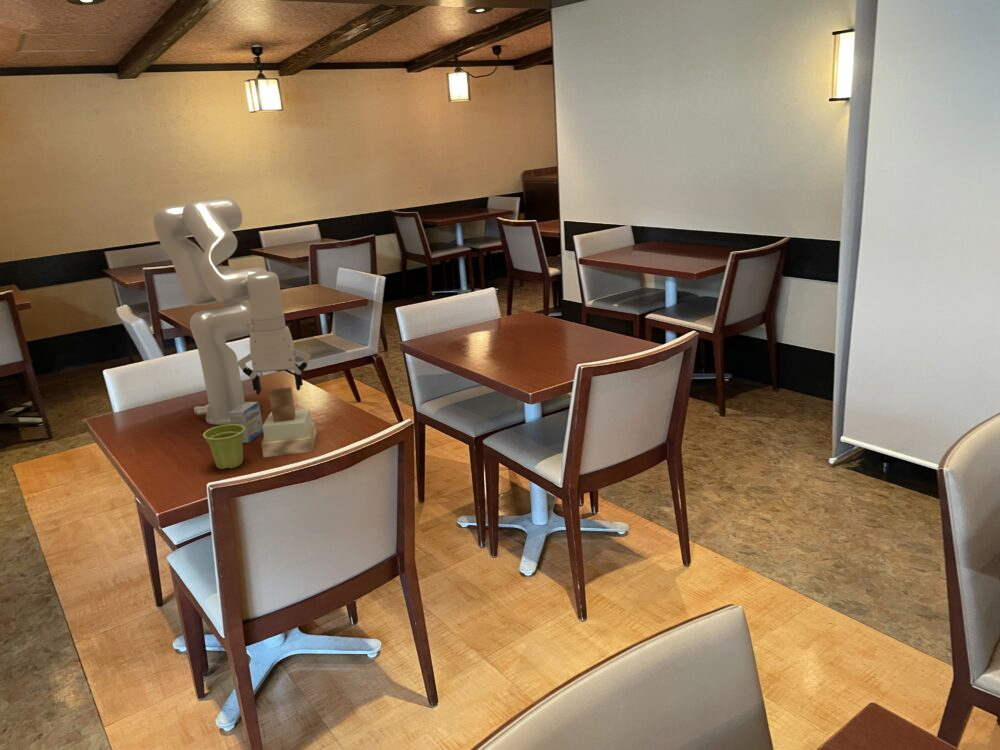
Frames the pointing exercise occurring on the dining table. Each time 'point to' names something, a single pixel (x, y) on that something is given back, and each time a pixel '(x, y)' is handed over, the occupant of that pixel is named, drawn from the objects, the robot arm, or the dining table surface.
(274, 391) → the walnut block
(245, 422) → the medicine box
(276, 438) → the tower top block
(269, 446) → the tower base block
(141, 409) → the dining table surface
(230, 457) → the plant pot
